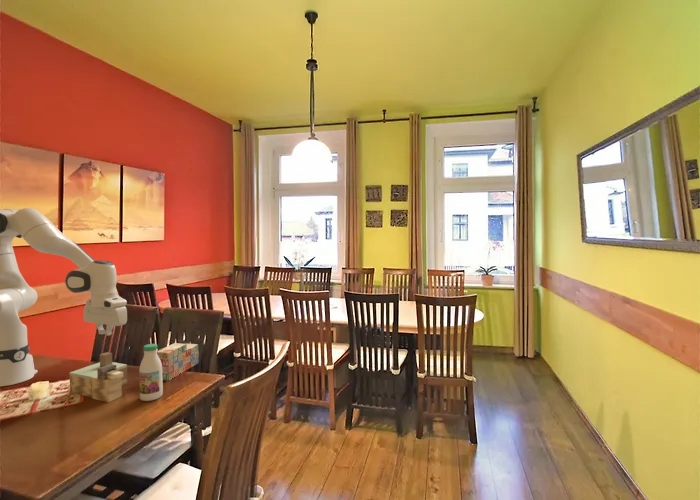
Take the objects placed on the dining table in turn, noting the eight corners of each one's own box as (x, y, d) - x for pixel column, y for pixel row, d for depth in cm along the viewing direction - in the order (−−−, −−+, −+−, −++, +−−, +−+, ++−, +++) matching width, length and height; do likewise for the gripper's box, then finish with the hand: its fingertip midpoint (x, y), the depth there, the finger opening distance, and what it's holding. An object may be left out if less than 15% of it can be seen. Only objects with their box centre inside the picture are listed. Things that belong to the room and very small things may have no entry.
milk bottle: (146, 392, 143) (145, 342, 142) (166, 392, 143) (165, 342, 142) (135, 401, 136) (134, 348, 135) (156, 401, 136) (155, 348, 135)
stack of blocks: (187, 362, 176) (187, 337, 176) (199, 363, 175) (198, 337, 175) (155, 379, 155) (155, 351, 155) (168, 381, 154) (168, 352, 154)
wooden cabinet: (68, 393, 142) (67, 363, 141) (104, 379, 156) (103, 351, 155) (108, 402, 135) (108, 370, 134) (143, 386, 149) (142, 357, 148)
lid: (69, 375, 142) (69, 359, 142) (104, 363, 155) (103, 349, 155) (93, 379, 138) (93, 364, 138) (127, 366, 151) (126, 352, 151)
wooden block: (98, 376, 138) (98, 371, 138) (105, 374, 140) (105, 368, 140) (116, 380, 135) (116, 374, 135) (123, 377, 138) (123, 372, 137)
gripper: (78, 300, 148) (79, 333, 149) (115, 303, 142) (116, 339, 142) (93, 297, 154) (94, 330, 155) (129, 301, 148) (130, 334, 148)
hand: (105, 334), depth 149 cm, fingers open, 2 cm apart
